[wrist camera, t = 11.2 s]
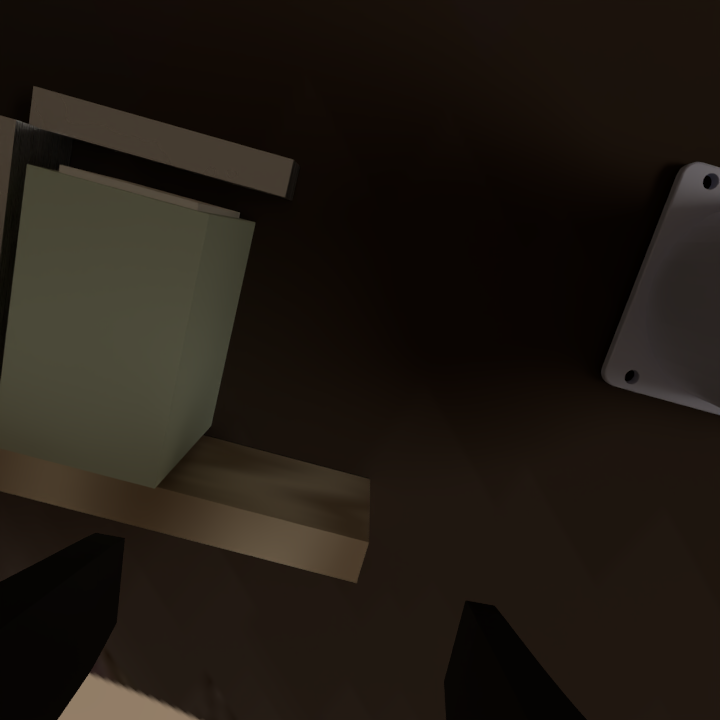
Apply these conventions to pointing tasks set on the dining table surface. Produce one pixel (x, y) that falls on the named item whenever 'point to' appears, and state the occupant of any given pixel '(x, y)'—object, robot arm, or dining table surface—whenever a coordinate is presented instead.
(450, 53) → the dining table surface
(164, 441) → the cabinet block
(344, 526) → the base board
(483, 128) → the dining table surface
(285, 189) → the grey l-shaped piece
